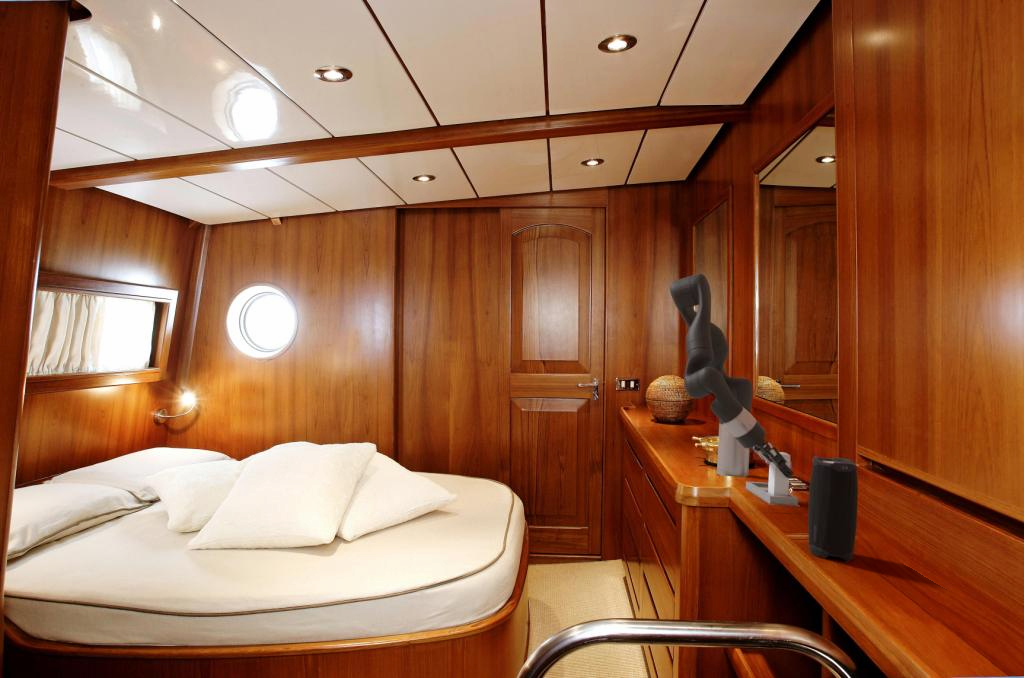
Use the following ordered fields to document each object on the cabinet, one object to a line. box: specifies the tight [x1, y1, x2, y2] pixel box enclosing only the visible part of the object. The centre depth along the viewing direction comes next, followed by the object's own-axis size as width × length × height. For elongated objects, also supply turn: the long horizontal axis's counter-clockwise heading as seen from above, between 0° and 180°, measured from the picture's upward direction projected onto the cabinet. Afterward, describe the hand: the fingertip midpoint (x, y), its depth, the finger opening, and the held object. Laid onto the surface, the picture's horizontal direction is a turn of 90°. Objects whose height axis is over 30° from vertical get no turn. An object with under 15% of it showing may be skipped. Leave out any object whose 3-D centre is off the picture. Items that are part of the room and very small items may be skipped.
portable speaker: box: [807, 455, 859, 562], centre depth 112 cm, size 9×9×20 cm
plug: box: [767, 451, 792, 496], centre depth 150 cm, size 4×4×13 cm
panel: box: [744, 481, 800, 507], centre depth 155 cm, size 8×18×3 cm, turn 178°
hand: (785, 473), depth 151 cm, fingers open, 4 cm apart
